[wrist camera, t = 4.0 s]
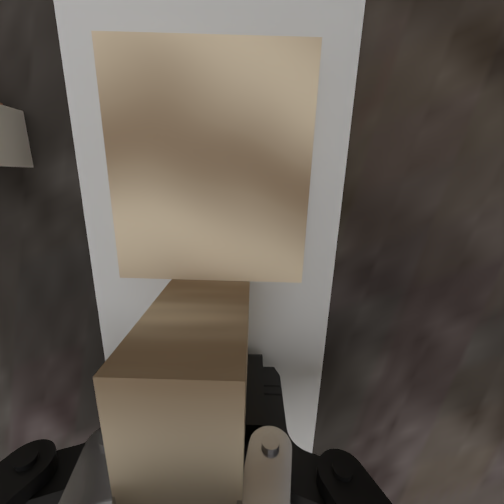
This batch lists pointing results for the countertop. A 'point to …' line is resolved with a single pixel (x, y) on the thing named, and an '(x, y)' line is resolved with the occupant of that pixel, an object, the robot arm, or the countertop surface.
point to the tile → (14, 139)
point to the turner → (197, 241)
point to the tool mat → (321, 181)
